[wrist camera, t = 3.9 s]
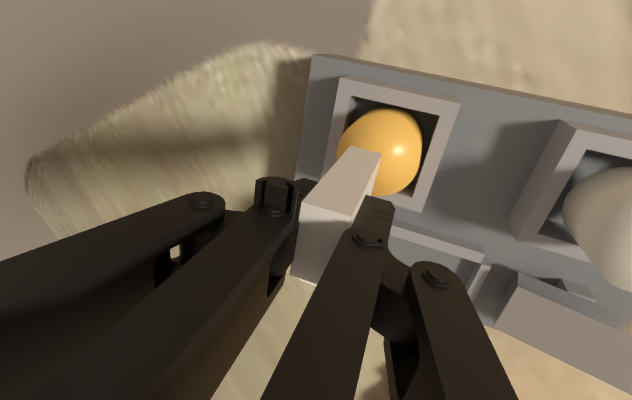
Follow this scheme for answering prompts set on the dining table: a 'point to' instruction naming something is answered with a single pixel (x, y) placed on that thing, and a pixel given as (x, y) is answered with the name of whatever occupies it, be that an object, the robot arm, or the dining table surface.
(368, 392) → the dining table surface
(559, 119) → the panel
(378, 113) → the amber button
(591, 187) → the white button
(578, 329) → the plate
